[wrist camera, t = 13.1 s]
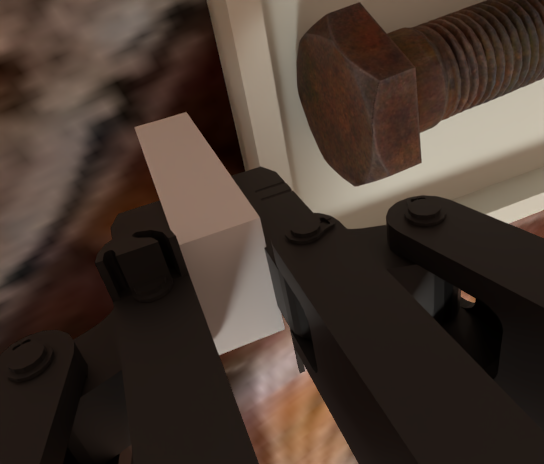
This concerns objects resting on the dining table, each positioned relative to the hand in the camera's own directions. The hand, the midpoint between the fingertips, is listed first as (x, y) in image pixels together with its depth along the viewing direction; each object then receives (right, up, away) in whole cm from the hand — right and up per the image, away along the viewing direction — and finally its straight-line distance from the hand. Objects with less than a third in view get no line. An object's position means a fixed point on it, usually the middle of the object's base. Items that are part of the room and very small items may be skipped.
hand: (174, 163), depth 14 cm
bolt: (+11, +6, +5) cm, 13 cm away
